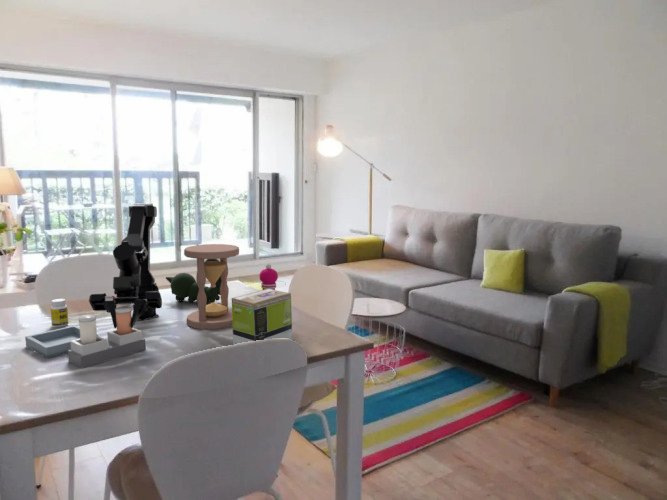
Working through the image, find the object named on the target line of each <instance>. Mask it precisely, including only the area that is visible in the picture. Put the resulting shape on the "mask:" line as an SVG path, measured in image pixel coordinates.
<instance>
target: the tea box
mask: <svg viewBox="0 0 667 500" xmlns="http://www.w3.org/2000/svg"><path fill="white" fill-rule="evenodd" d="M231 309H232V322H233V326H232V343H233V345H234V344H237V343H242V342H248V341H256V340H264V339H272V338H289V339H292V340H293V317H292V316H293V315H292V293H291V292H286V291H280V290H277V289H275V290H272V289H265V290H263V289H260V290H258V291H254V292H250V293H246V294H241V295H239V296H235V297H231Z"/></svg>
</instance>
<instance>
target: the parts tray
mask: <svg viewBox="0 0 667 500" xmlns="http://www.w3.org/2000/svg"><path fill="white" fill-rule="evenodd" d="M97 336H99V335H98V334H97ZM24 338H25V347H26V348H28V349H29V350H31V351H33V352H35V353H36V354H38V355H41V357H43V358H45V359H51V358H54V357H57V356H61V355H65V354H68V350H71V342H70V341H72V340H76V339H80V328H79V325H71V326H64V327H60V328H57V329H54V330H48V331H45V332H40V333H34V334H29V335H27V336H25V337H24Z"/></svg>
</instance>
